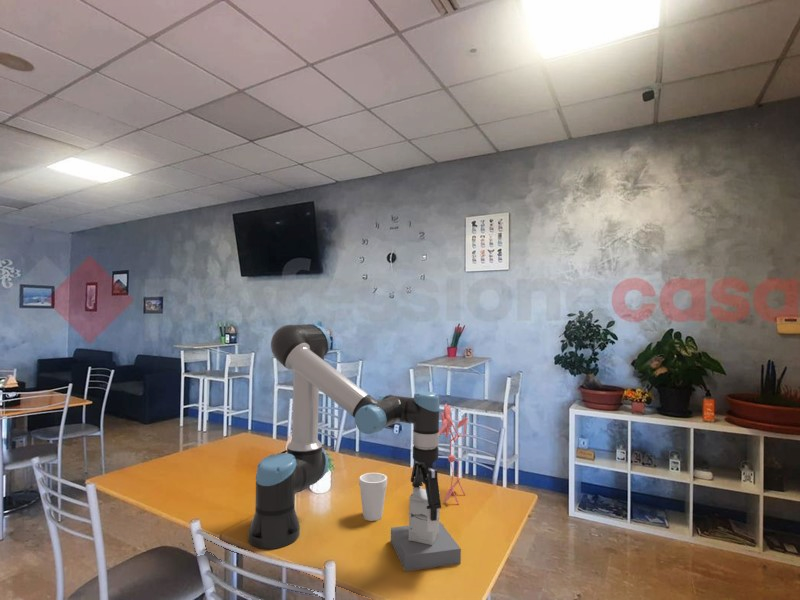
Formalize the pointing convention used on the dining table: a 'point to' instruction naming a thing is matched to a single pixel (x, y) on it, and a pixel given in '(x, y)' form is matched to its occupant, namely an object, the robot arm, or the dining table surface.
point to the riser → (425, 550)
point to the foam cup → (372, 495)
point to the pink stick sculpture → (445, 428)
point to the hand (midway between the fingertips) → (424, 519)
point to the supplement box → (420, 518)
